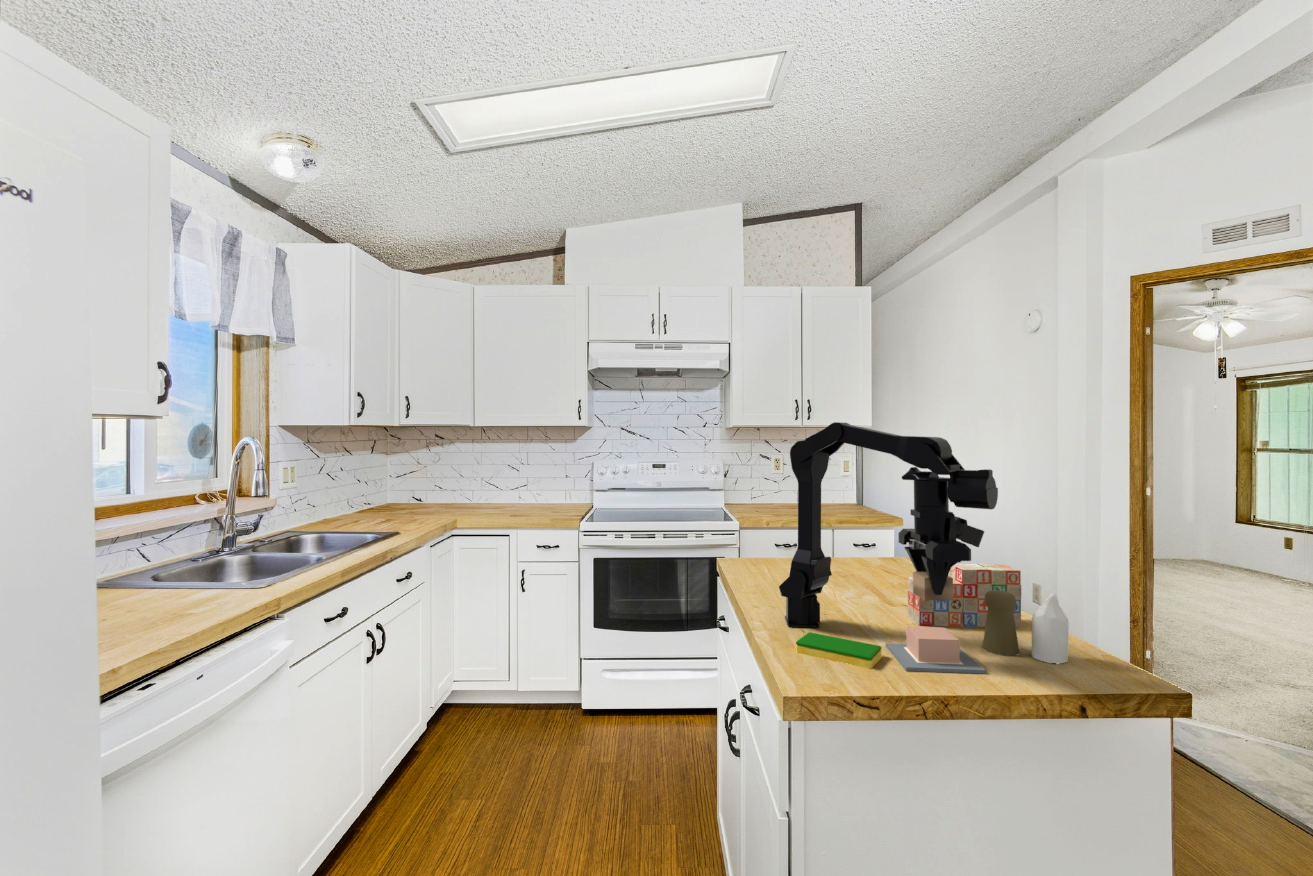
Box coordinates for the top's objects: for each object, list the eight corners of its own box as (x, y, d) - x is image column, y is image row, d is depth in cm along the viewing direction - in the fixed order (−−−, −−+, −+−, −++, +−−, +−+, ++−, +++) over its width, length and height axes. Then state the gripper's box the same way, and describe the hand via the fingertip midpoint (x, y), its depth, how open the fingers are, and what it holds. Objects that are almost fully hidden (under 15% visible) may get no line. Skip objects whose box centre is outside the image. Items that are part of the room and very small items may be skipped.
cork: (1015, 646, 110) (1014, 588, 110) (1023, 657, 104) (1023, 596, 105) (979, 642, 112) (978, 586, 112) (986, 653, 106) (985, 594, 106)
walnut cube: (924, 600, 102) (924, 577, 102) (913, 593, 107) (912, 571, 107) (953, 600, 102) (952, 577, 102) (940, 593, 107) (940, 571, 107)
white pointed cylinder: (1029, 586, 108) (1065, 590, 105) (1030, 650, 108) (1066, 655, 105) (1032, 594, 103) (1071, 598, 100) (1033, 661, 103) (1071, 666, 100)
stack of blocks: (919, 626, 123) (918, 569, 123) (907, 617, 129) (907, 562, 129) (1022, 627, 122) (1021, 569, 122) (1005, 618, 128) (1005, 563, 128)
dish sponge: (871, 671, 100) (871, 657, 100) (795, 654, 108) (795, 641, 108) (881, 658, 105) (881, 645, 105) (809, 643, 113) (809, 631, 113)
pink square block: (918, 661, 101) (918, 638, 101) (906, 647, 108) (906, 626, 108) (959, 663, 100) (959, 640, 100) (944, 649, 107) (944, 627, 107)
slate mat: (905, 670, 99) (905, 666, 99) (885, 646, 110) (885, 642, 110) (985, 673, 97) (985, 669, 97) (956, 648, 109) (956, 644, 109)
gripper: (1003, 511, 95) (1004, 606, 95) (955, 500, 113) (956, 579, 113) (933, 511, 96) (934, 604, 96) (897, 500, 115) (898, 578, 114)
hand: (932, 590), depth 105 cm, fingers closed on walnut cube, 5 cm apart
